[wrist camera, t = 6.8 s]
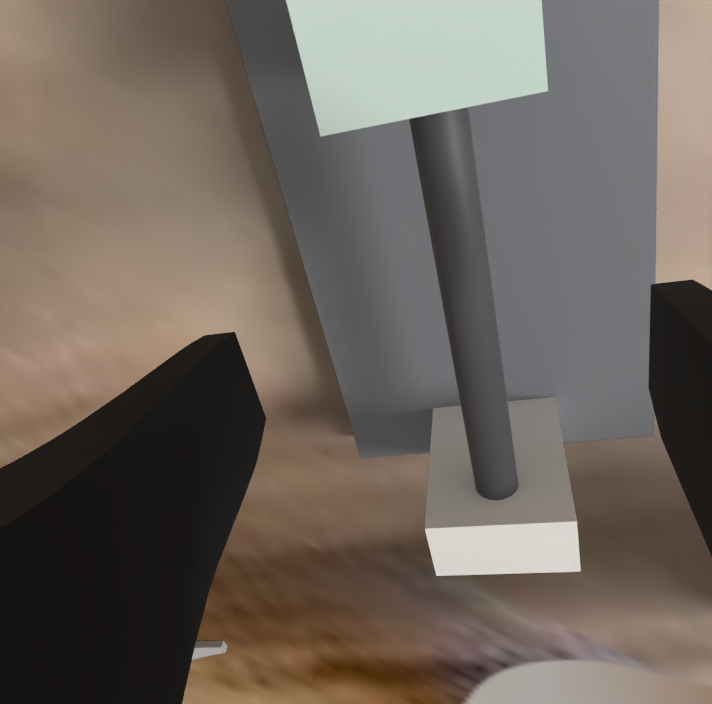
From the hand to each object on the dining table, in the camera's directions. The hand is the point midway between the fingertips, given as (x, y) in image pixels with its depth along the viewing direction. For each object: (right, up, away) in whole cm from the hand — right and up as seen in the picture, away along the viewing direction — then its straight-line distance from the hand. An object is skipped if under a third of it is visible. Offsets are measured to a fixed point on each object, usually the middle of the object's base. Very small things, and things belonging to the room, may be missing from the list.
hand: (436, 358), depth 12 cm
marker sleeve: (0, +8, +2) cm, 8 cm away
